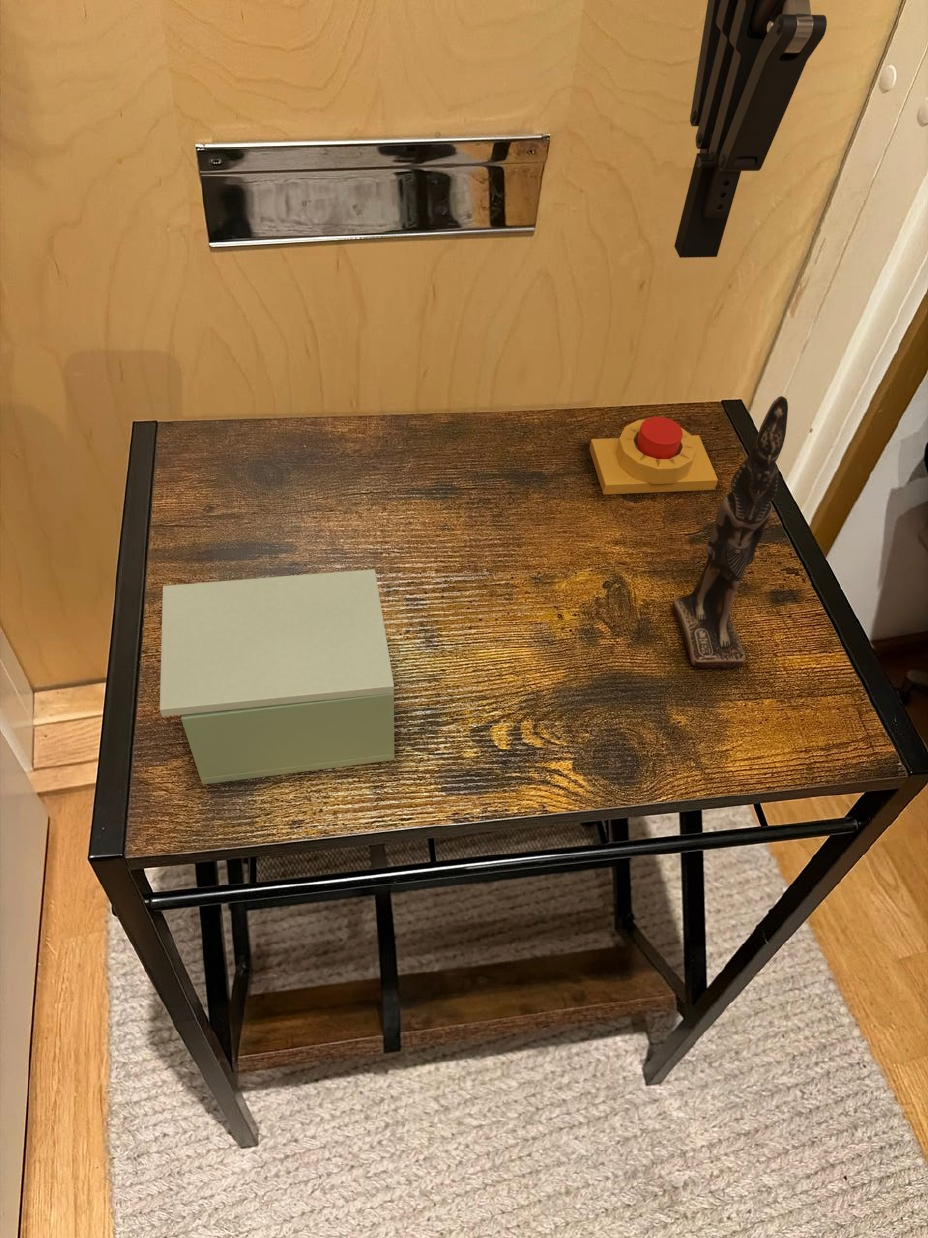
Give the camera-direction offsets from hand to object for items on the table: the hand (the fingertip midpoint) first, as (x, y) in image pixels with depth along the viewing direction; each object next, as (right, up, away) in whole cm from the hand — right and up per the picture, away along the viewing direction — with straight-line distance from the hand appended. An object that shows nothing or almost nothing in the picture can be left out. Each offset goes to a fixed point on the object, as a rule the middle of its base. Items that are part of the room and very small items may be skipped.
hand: (695, 251), depth 66 cm
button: (0, -11, +15) cm, 19 cm away
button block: (0, -13, +17) cm, 21 cm away
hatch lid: (-28, -27, -7) cm, 40 cm away
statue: (+2, -27, +5) cm, 28 cm away
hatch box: (-28, -32, -1) cm, 43 cm away
